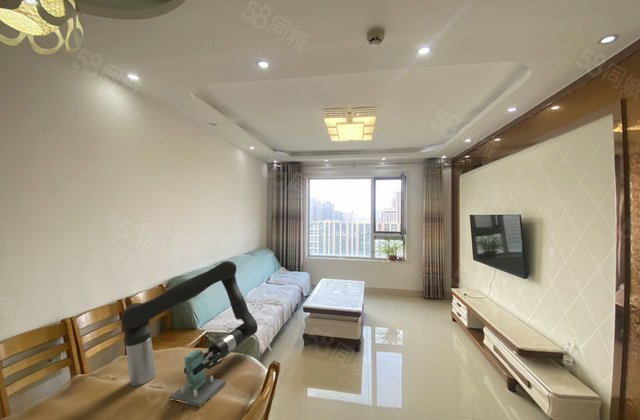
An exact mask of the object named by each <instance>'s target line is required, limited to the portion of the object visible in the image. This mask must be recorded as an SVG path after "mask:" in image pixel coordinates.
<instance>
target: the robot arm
mask: <svg viewBox="0 0 640 420" xmlns="http://www.w3.org/2000/svg"><path fill="white" fill-rule="evenodd" d="M236 273H237V266H236V263H235V262H234V261H231V260H225V261H223V262H221V263H219V264H217V265H216V266H214V267H212V268H211V269H208V270H207V271H205V272H203V273H200V274H198V275H195V276H193V277H190V278H188V279H186V280H184V281H182V282H180V283H178V284H176V285H174V286H172V287H170V288H169V289H167V290H166V291H164V292H163V293H162V294H160V295H159V296H157V297H155V298H153V299H151V300H149V301H146V302H144V303H141V302H135V303H132V304H129V305H128V306H127V307H126V308H125V309H124V311H123V312H122V314H121V321H120V322H121V324H122V326H123V327H124V329H123V330H124V344H125V350H126V357H127V370H128V376H129V383H130V385H131V387H137V386H140V385H144V384H146V383H148V382H150V381H151V380H153V379H154V378H155V377H156V374H157V373H156V372H157V371H156V365H155V363H156V362H155V358H154V349H153V348H154V347H153V343H152V333H151V324H150V323H151V322H150V320H152V319H154V318H155V317H157V316H159V315H160V314H163V313H165V312H167V311H168V310H171V309H174V308H176V307H178V306H179V305H182V304H184V303H185V302H188V301H190V300H192V299H194V298H195V297H197V296H198V295H200V294H201V293H203V292H204V291H206V290H207V289H209V287H211V286H212V285H214V284H216V283H219V282H221V283H222V286H223V287H224V289H225V291H226V294H227V296H228V300H229V304H230V306H231V310H232V312H233V316H234V318H235V320H239V321H240V320H241V321H242V322H243V323H241V324H239V325H238V326H237V327H236V328H234V329H233V330H232V331H230V332H229V333H228V334H226V335H223V336H222V337H220V338H219V339H217V340H216V341H214V342H213V343H212V344H210V346H209V347H208V350H207V351H205V352H203V358H204V362H202V364H200V365H199V366H197V367H196V368H194V369H193V370H192V372H193V375H196V374H198V373H199V372H200V371H202V370H205V371H206V370H210V369H213V368H214V367H216V366H217V365H220V364H221V363H223V360H224V358H226V357H227V356H228V355H230V353H232V351H234V349H236V348H237V347H238V346H240V345H241V344H242V343H243V341H245V340H246V339H247V338H249V337H251V336H254V335H256V334H257V332H258V323H257V321H256V319H255V317H254V316H253V315H252V313H251V312H250V311H249V309H248V305H247V302H246V299H245V297H244V296H243V294H242V291H240V288H239V285H238V283H237V282H238V281H237V277H236ZM183 372H184V373H183V374H184V375H187V373H186V367H185V366H184V369H183Z"/></svg>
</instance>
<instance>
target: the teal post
mask: <svg viewBox="0 0 640 420" xmlns="http://www.w3.org/2000/svg"><path fill="white" fill-rule="evenodd" d="M203 353H204V352H203V350H201V349H200V350H199V349H194V350H193V351H191V352H190V353H188V354H186V355H185V356H183V358H184V368H185V367H186V373H187V374H186V381H187V382H188V388H189V389H198V388H199V387H200V386H201V385H202V384H204V383H205V382H206V381H207V380H206V377H207V374H206V373H207V372H206V369H205V370H202V371H200V372H199V373H198V374H196V375H193V372H192V370H193V369H194V368H196V367H197V366H199V365H200V364H202V362H204V358H203Z"/></svg>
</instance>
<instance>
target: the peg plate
mask: <svg viewBox="0 0 640 420" xmlns="http://www.w3.org/2000/svg"><path fill="white" fill-rule="evenodd" d="M206 380H207V381H206V382H205V383H204V384H202V385H201V386H200V387H199V388H198V389H189V388H188V381H187V382H186V383H185V384H184V385H182V386H181V387H179V388H178V389H177V390H175V391H174V392H173V393H172V394H170V395H169V400H170V399H173V400H180V401H183V402H187V403H188V404H190V405H189V406H193V405H195V406H194V407H197V406H201V405H202V404H204V403H205V402H206V401H207V400H208V399H209V398H211V397H212V396H213V395H214V396H215V395H216V394H217V393H218V392H219V391H221V390H222V389H223V388H224V387H225V386H227V385H226V384H227V383H226V380H223V379H216V378H214V375H210V376H209V377H208V376H206ZM214 396H213V397H214ZM213 397H212V398H213ZM212 398H211V399H212ZM209 400H210V399H209ZM209 400H208V401H209ZM208 401H207V402H208ZM207 402H206V403H207ZM206 403H205V404H206ZM188 404H187V405H188ZM205 404H204V405H205Z"/></svg>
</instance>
